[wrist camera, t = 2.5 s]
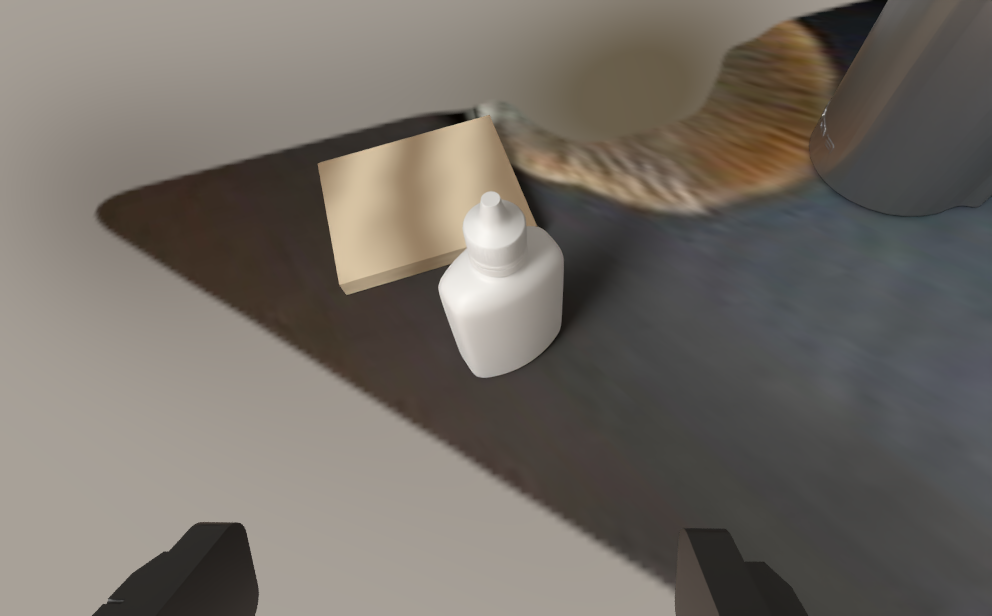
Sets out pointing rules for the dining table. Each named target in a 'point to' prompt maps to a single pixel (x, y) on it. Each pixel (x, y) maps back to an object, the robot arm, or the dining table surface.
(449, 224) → the oak board
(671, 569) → the dining table surface
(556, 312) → the eye dropper bottle
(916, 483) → the dining table surface
